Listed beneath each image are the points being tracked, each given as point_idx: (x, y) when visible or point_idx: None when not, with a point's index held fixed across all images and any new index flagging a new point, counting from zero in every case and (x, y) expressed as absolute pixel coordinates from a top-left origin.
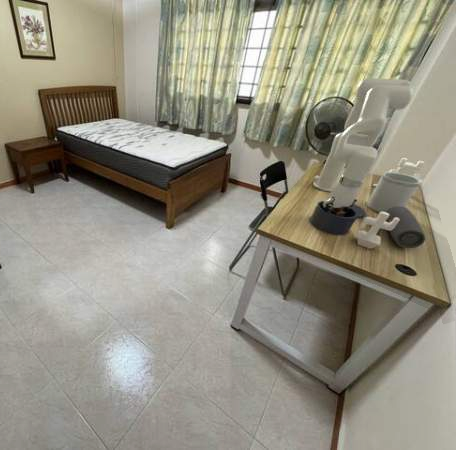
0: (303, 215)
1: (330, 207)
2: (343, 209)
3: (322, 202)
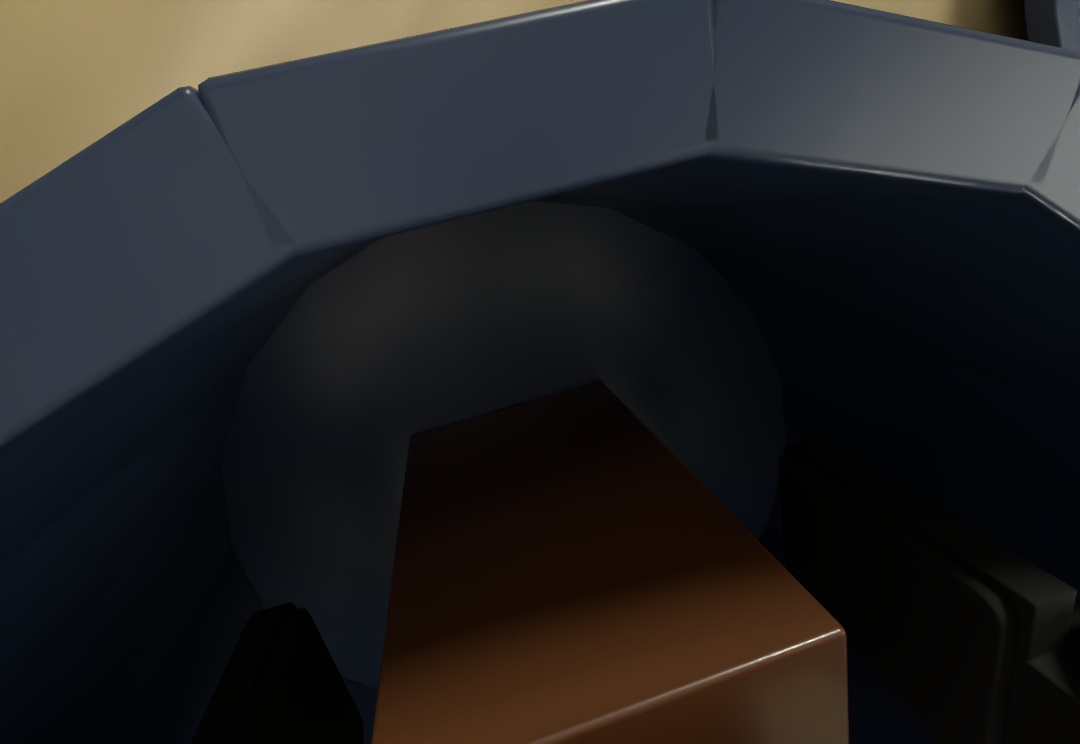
0: (122, 117)
1: (812, 231)
2: (979, 705)
3: (319, 251)
